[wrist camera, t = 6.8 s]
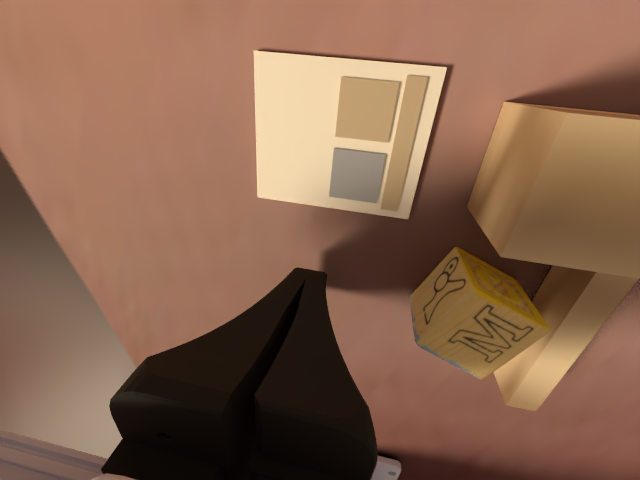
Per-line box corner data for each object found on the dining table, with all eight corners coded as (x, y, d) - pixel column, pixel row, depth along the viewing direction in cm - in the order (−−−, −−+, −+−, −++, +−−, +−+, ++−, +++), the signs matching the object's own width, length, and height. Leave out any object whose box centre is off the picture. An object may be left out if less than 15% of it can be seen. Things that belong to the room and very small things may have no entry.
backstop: (518, 374, 14) (535, 411, 12) (492, 369, 14) (506, 405, 13) (686, 119, 8) (755, 128, 7) (639, 114, 8) (697, 122, 7)
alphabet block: (406, 293, 13) (413, 347, 10) (453, 242, 12) (475, 290, 9) (464, 324, 13) (484, 384, 11) (517, 277, 12) (556, 334, 9)
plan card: (407, 217, 11) (408, 220, 11) (259, 195, 12) (256, 197, 12) (445, 67, 9) (447, 67, 9) (256, 50, 9) (252, 50, 9)
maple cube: (570, 221, 10) (648, 280, 7) (466, 206, 11) (500, 256, 8) (630, 113, 9) (766, 132, 6) (504, 101, 9) (566, 113, 6)
